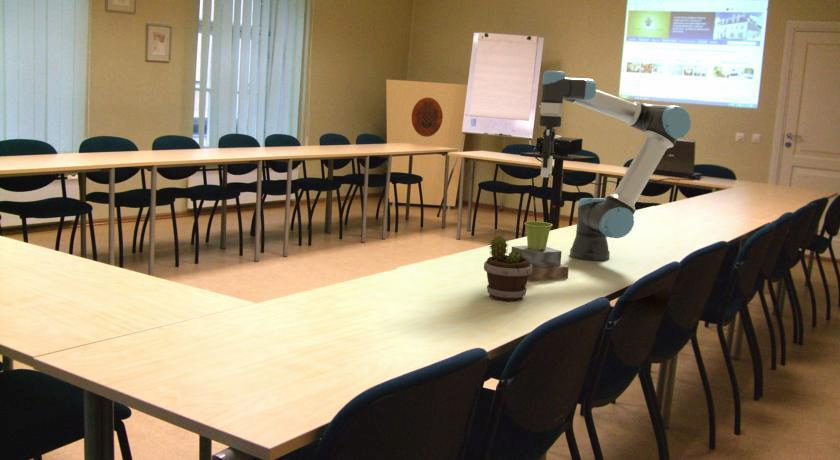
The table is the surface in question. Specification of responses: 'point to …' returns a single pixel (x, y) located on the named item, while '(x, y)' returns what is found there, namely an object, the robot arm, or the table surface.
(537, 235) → the plant pot
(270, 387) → the table surface
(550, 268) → the pedestal
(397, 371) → the table surface
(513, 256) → the flowerpot
